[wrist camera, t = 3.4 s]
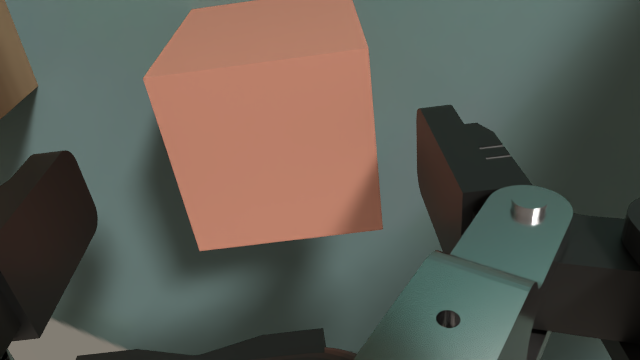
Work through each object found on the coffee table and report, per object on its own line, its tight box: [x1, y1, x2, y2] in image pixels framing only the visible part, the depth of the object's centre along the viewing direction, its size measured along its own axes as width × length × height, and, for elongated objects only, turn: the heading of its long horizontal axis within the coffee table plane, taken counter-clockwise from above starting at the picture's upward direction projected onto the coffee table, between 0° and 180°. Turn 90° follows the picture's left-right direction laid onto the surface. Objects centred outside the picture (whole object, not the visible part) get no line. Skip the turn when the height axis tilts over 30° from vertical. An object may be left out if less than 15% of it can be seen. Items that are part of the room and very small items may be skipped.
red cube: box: [143, 0, 383, 251], centre depth 15 cm, size 5×5×6 cm
